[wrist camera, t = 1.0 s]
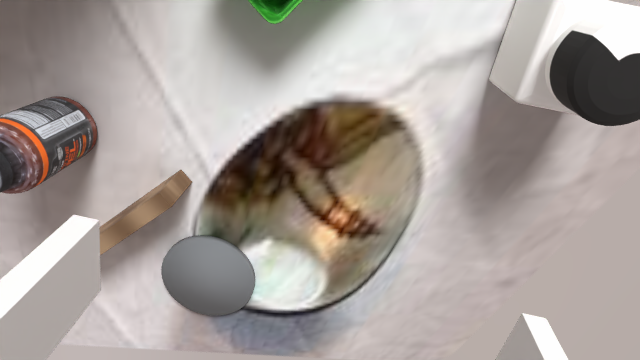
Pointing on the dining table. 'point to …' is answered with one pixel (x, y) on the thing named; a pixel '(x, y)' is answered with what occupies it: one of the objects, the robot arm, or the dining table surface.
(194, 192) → the dining table surface
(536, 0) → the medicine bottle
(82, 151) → the supplement bottle
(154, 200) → the rail
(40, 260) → the robot arm
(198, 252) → the coaster
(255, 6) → the fruit basket
